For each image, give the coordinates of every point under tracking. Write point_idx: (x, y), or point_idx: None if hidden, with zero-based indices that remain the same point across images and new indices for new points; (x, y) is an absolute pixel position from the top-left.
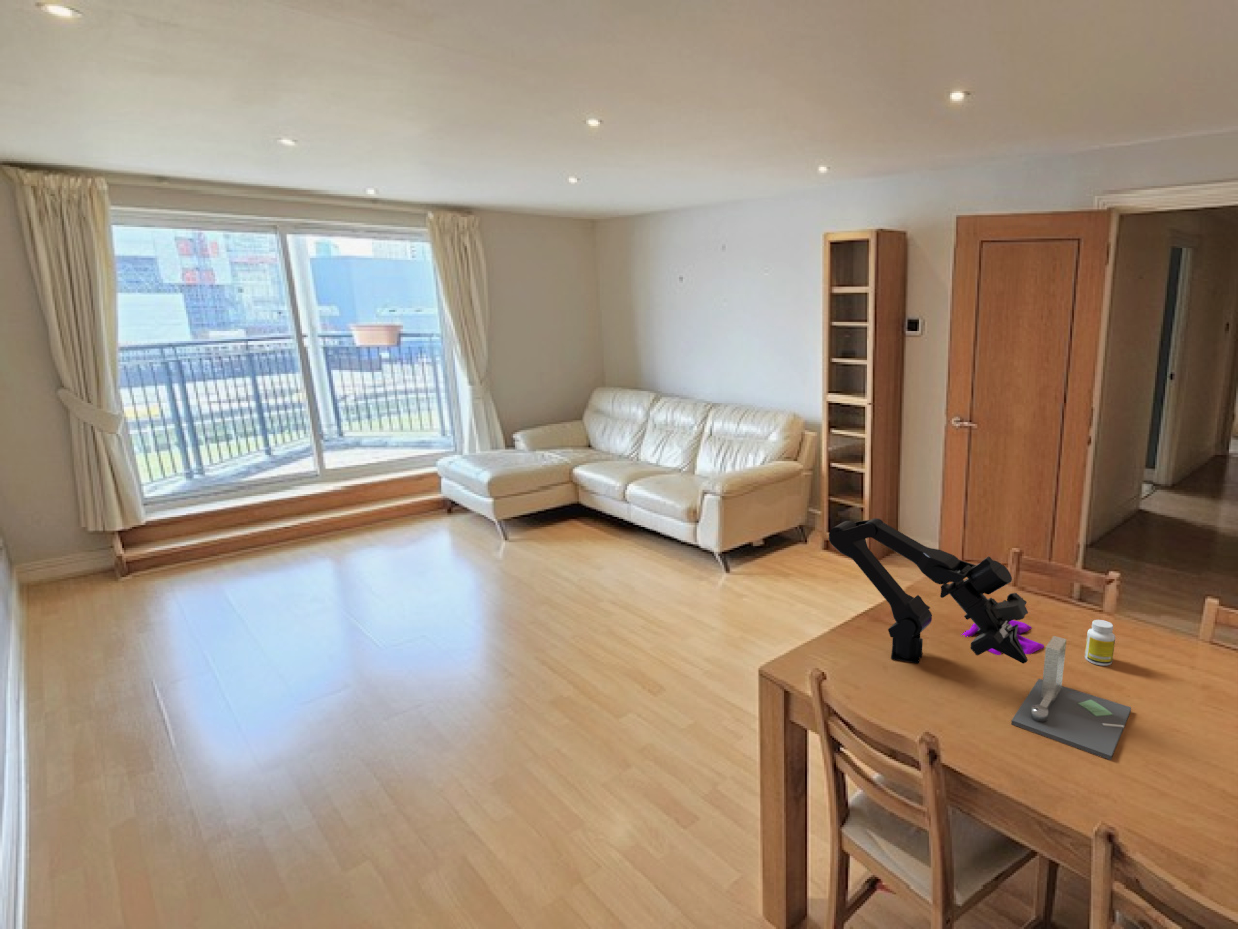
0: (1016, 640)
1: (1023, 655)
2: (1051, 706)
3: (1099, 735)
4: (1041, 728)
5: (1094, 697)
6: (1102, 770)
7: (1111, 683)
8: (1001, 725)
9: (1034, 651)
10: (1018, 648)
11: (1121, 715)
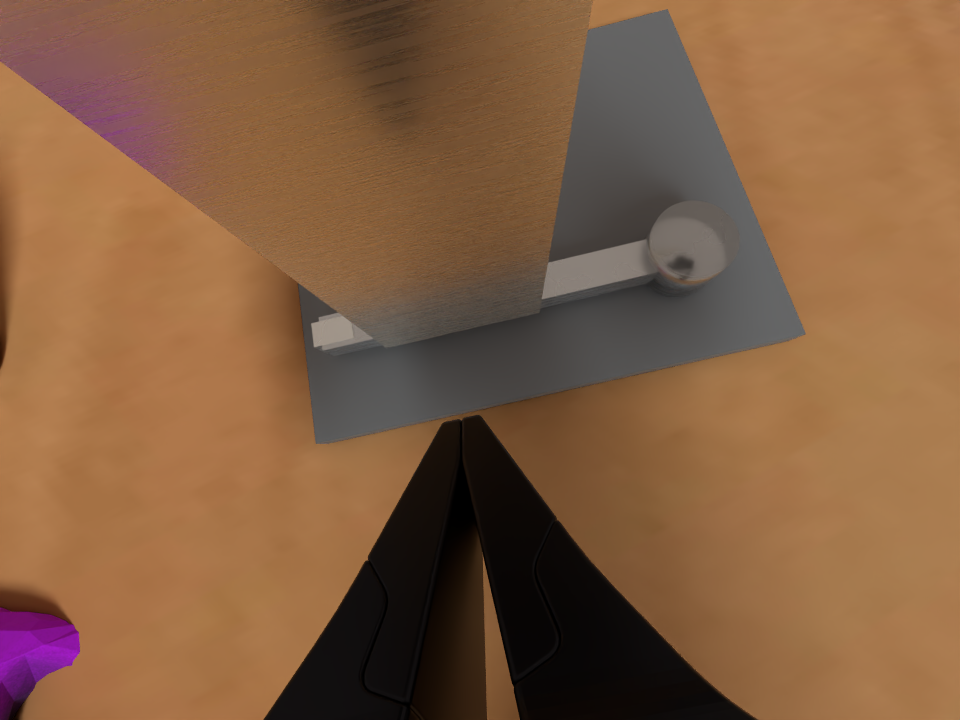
0: (390, 656)
1: (473, 453)
2: None
3: None
4: (736, 221)
5: None
6: (741, 19)
7: (124, 250)
8: (838, 364)
9: (27, 613)
10: (494, 527)
11: None
